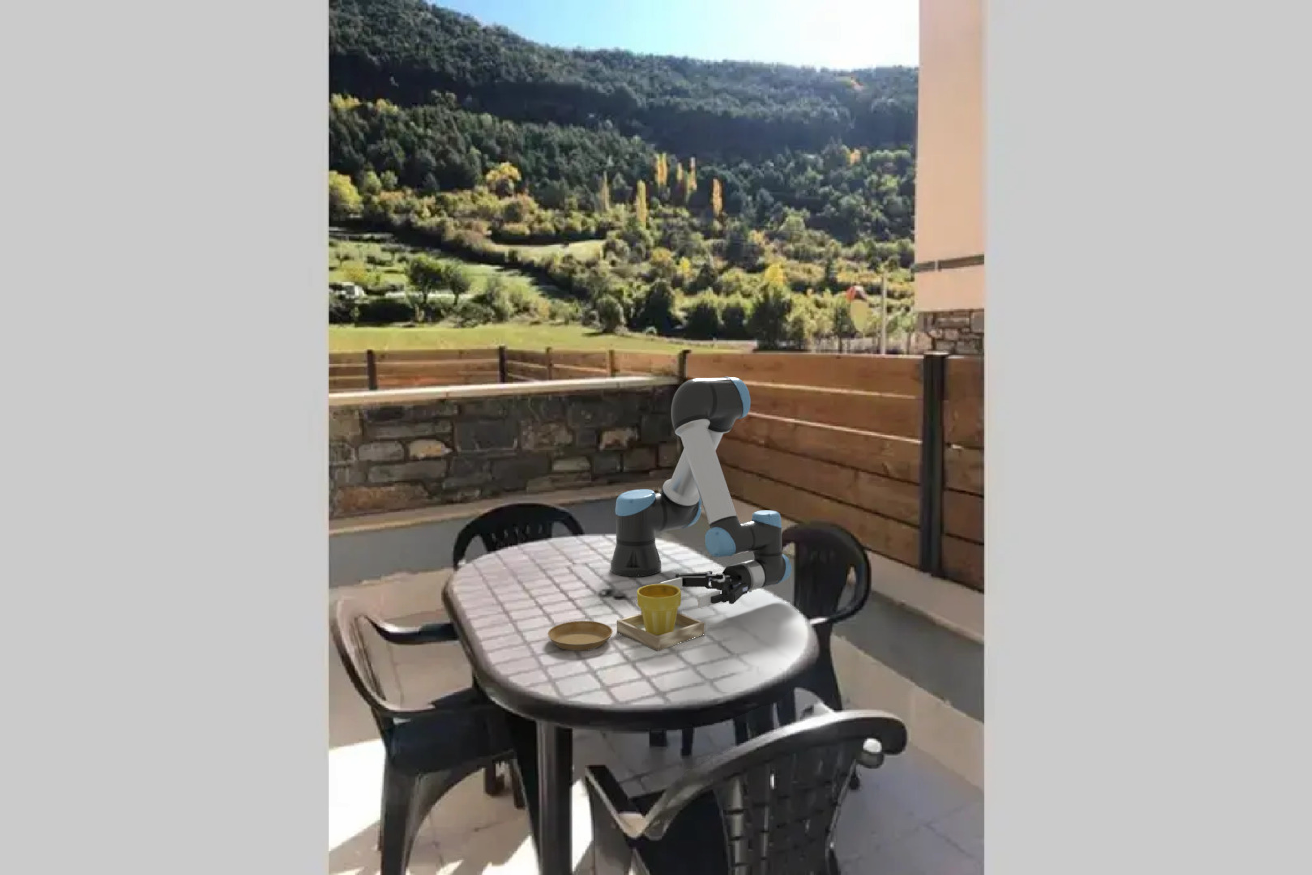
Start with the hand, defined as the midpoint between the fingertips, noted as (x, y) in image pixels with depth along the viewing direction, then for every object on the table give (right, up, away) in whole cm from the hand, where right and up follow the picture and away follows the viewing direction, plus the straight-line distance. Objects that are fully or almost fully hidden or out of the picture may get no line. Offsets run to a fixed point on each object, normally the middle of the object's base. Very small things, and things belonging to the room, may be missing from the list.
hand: (679, 594), depth 190 cm
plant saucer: (-23, -10, -7) cm, 26 cm away
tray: (-5, -9, -3) cm, 10 cm away
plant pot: (-5, -8, -2) cm, 10 cm away
